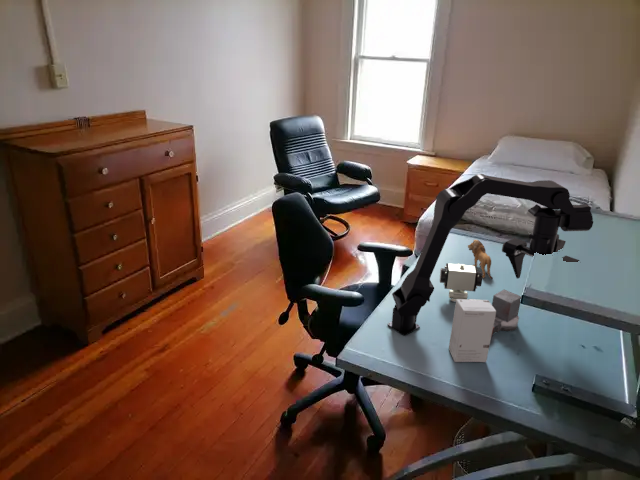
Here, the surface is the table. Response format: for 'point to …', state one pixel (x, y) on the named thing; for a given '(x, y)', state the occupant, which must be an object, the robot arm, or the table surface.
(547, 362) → the table surface
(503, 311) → the brushed metal block
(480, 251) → the lion figurine
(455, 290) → the pneumatic valve
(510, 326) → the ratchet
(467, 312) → the skincare box
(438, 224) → the robot arm
